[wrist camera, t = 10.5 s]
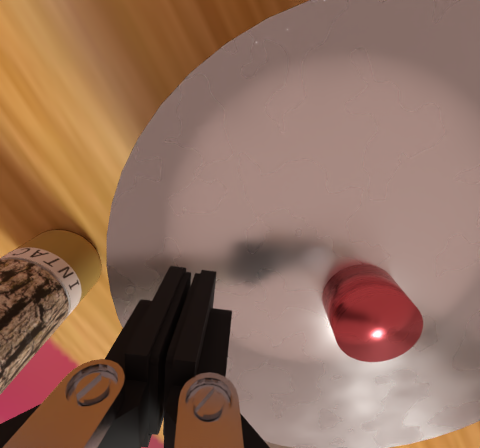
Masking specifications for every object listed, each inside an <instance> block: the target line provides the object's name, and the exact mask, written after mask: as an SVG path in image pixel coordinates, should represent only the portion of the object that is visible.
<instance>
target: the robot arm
mask: <svg viewBox="0 0 480 448" xmlns="http://www.w3.org/2000/svg"><path fill="white" fill-rule="evenodd" d="M215 283H216V271H208V270H201V273H195V275H194V278H193V281H192V283H191V272H186V268H184V267H176V266H170V267H169V269H168V271H167V273H166V275H165V277H164V279H163V281H162V283H161V284H160V286H159V288H158V290H157V292H156V294H155V296H154V298H153V300H144V299H142V300H140V301H139V302H138V304H137V306H136V307H135V309H134V311H133V312H132V314H131V316H130V317H129V319H128V321H127V322H126V324H125V326H124V328H123V329H122V331H121V333H120V334H119V336H118V338H117V339H116V341H115V343H114V344H113V346H112V348H111V350H110V351H109V353H108V355H107V356H106V358H105V359H100V360H92V361H90V362H87V363H84V364H82V365H80V366H78V367H77V368H75V369H73V370H72V371H71V372H70V373H69V374H68V375H67V376H66V377H65V378H64V379H63V380H62V382H60V383H59V385H58V386H57V387H56V388H55V389H54V390H53V392H52V393H51V394H50V395H49V396H48V397H47V398H46V399H45V400H44V402H43V403H42V404H40V405H38V406H36V407H34V408H32V409H30V410H28V411H26V412H24V413H22V414H20V415H18V416H16V417H14V418H12V419H10V420H8V421H6V422H4V423H2V424H0V448H141V447H148V445H149V442H150V438H151V435H152V434H156V435H158V433H159V431H160V428H161V424H162V421H163V417H164V428H163V435H164V448H270V447H269V446H268V445H267V444H266V442H265V441H264V440H263V439H262V438H261V437H260V435H259V434H258V433H257V432H256V431H255V430H254V428H253V427H252V426H251V425H250V424H249V423H248V421H247V420H246V419H245V418H244V417H243V415H242V414H241V413H240V406H239V397H238V394H237V390H236V388H235V387H234V385H233V383H232V382H231V381H230V380H228V379H227V378H226V368H227V358H228V348H229V338H230V328H231V319H232V310H224V309H216V308H213V303H214V293H215Z"/></svg>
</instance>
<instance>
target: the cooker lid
mask: <svg viewBox="0 0 480 448" xmlns="http://www.w3.org/2000/svg"><path fill="white" fill-rule="evenodd" d="M170 266H176V267H184V268H186V272H191V283H192V281H193V278H194V275H195V273H201V270H208V271H216V283H215V293H214V303H213V308H216V309H224V310H232V319H231V328H230V338H229V348H228V358H227V368H226V378H227V379H228V380H230V381H231V382H232V383H233V385H234V387H235V388H236V390H237V394H238V397H239V406H240V413H241V414H242V415H243V417H244V418H245V419H246V420H247V421H248V423H249V424H250V425H251V426H252V427H253V428H254V430H255V431H256V432H257V433H258V434H259V435H260V437H261V438H262V439H263V440H264V441H265V442H269V443H273V444H277V445H281V446H287V447H294V448H388V447H394V446H400V445H406V444H411V443H415V442H419V441H423V440H427V439H431V438H434V437H437V436H441V435H444V434H447V433H450V432H453V431H456V430H459V429H461V428H463V427H466V426H468V425H471V424H473V423H475V422H478V421H480V0H309V1H307V2H305V3H302V4H300V5H298V6H295V7H293V8H290V9H288V10H286V11H283V12H281V13H279V14H276V15H274V16H272V17H269V18H267V19H266V20H264V21H262V22H261V23H259V24H257V25H256V26H254V27H252V28H251V29H249V30H248V31H246V32H244V33H243V34H241V35H239V36H238V37H236V38H234V39H233V40H231V41H229V42H228V43H226V44H225V45H224V46H222V47H221V48H220V49H219V50H218V51H216V52H215V53H214V54H213V55H211V56H210V57H209V58H208V59H207V60H205V61H204V62H203V63H202V64H200V65H199V66H198V67H197V68H196V69H194V70H193V71H192V72H191V73H190V74H189V75H188V76H187V77H186V78H185V79H184V80H183V81H182V82H181V84H180V85H179V86H178V87H177V88H176V89H175V90H174V91H173V92H172V93H171V94H170V96H169V97H168V98H167V99H166V100H165V101H164V102H163V103H162V104H161V106H160V107H159V108H158V110H157V111H156V113H155V114H154V116H153V117H152V119H151V120H150V122H149V123H148V125H147V126H146V127H145V129H144V130H143V132H142V133H141V135H140V136H139V138H138V140H137V142H136V144H135V146H134V148H133V150H132V152H131V154H130V156H129V158H128V160H127V162H126V164H125V166H124V168H123V170H122V173H121V176H120V179H119V183H118V186H117V189H116V192H115V195H114V198H113V202H112V206H111V212H110V218H109V225H108V231H107V271H108V278H109V284H110V291H111V295H112V299H113V302H114V305H115V309H116V312H117V315H118V319H119V321H120V323H121V325H122V327H123V328H124V326H125V324H126V322H127V321H128V319H129V317H130V316H131V314H132V312H133V311H134V309H135V307H136V306H137V304H138V302H139V301H140V300H142V299H144V300H153V298H154V296H155V294H156V292H157V290H158V288H159V286H160V284H161V283H162V281H163V279H164V277H165V275H166V273H167V271H168V269H169V267H170Z"/></svg>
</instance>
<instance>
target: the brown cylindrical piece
mask: <svg viewBox="0 0 480 448" xmlns="http://www.w3.org/2000/svg"><path fill="white" fill-rule="evenodd" d="M100 274H101V261H100V257H99V255H98V253H97V251H96V249H95V248H94V247H93V246H92V244H91V243H90V242H88V241H87V240H86V239H85V238H83V237H82V236H80V235H78V234H76V233H73V232H69V231H65V230H50V231H46V232H43V233H41V234H39V235H38V236H36V237H34V238H33V239H31V240H30V241H28V242H26V243H25V244H23V245H21V246H20V247H18V248H17V249H15V250H13V251H11V252H9V253H8V254H6V255H5V256H3V257H1V258H0V394H1V393H2V392H3V390H5V388H6V387H7V386H8V385H9V384H10V383H11V381H12V380H13V379H14V378H15V377H16V375H18V373H19V372H20V371H21V370H22V369H23V368H24V366H25V365H26V364H27V363H28V362H29V361H30V359H31V358H32V357H33V356H34V355H35V354H36V352H37V351H38V350H39V349H40V348H41V347H42V346H43V344H44V343H45V342H46V341H47V340H48V339H49V337H50V336H51V335H52V334H53V333H54V332H55V330H56V329H57V328H58V327H59V326H60V325H61V324H62V322H63V321H64V320H65V319H66V318H67V317H68V315H69V314H70V313H71V312H72V311H73V310H74V308H75V307H76V306H77V305H78V303H79V302H80V301H81V300H82V299H83V298H84V296H85V295H86V294H87V293H88V292H89V291H90V289H91V288H92V287H93V286H94V285H95V284H96V282H97V281H98V279H99V277H100Z"/></svg>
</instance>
